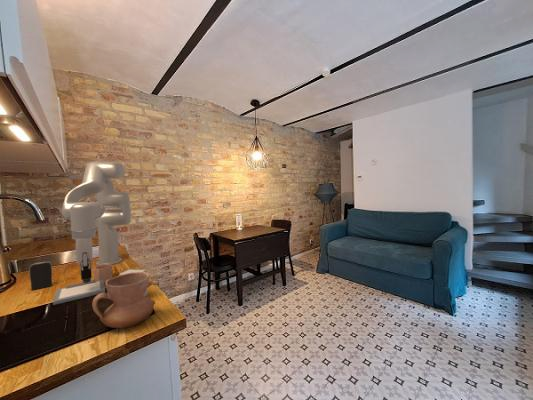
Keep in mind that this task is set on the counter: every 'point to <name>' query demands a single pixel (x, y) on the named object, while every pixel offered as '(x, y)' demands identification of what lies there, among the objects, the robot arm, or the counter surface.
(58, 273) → the counter surface
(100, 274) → the pen cup
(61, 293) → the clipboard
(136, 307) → the ceramic jug
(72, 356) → the counter surface
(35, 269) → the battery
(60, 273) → the counter surface
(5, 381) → the counter surface
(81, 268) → the marker
